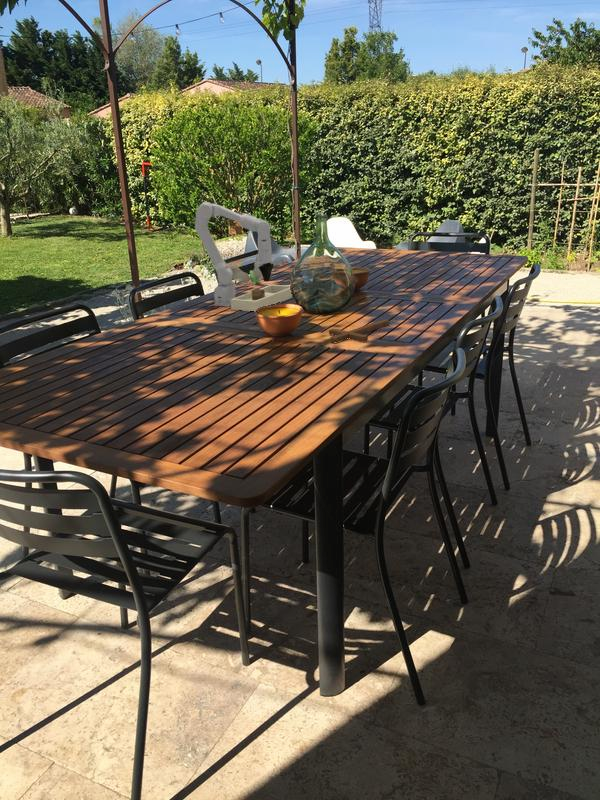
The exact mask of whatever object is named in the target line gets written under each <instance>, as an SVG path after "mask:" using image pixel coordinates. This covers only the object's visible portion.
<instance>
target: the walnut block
mask: <svg viewBox="0 0 600 800" xmlns="http://www.w3.org/2000/svg"><path fill="white" fill-rule="evenodd" d="M251 292H252V300H259V299H261V298H264V297H265V291H264V290H263V289H261V288H255V289H252V290H251Z"/></svg>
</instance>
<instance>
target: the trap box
mask: <svg viewBox="0 0 600 800" xmlns="http://www.w3.org/2000/svg"><path fill="white" fill-rule="evenodd" d="M290 286H291V285H278V284H269V285H267V286H264V287H260V289H263V290H264V291H265V297H264V298H261V299H259V300H252V291H250V292H247V293H244V294H242V295H241V294H240V295H239V296H237V297H236V296H235V297H236V298H233V299H231V306H230V308H231V310H232V311H239V310H242V312H250V311H254V312H253V313H257V312H256V310H257V309H258V308H260V307H263V306H268V305H271V304H275V305H277V304H276V303H278V302H280V303H283V302H284V301H287V300H290V299H292V298H293V297H292V294H291V290H290ZM282 301H283V302H282ZM278 304H279V303H278Z"/></svg>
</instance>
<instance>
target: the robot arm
mask: <svg viewBox="0 0 600 800" xmlns="http://www.w3.org/2000/svg"><path fill="white" fill-rule="evenodd" d="M212 216H213V217H220V216H222V217H224V218H227V219H229V220H233V221H235V222H238V223H239V226H240V227H242V228H244V229H246V230H250V231H251V232H254V233H255V232H256V233H257V250H258V251H257V253H258V256H259V258H258V261H257V262H254V268H255V267H258V268H259V269H260V271H261V273H262V276H263V278H262V279H263V281H264V282H270V280H271V276H272V275H271V274H272V270H273V268H274V264H273V263H277V257H275V256H274V257H273V256H272V255H273V254H272V239H271V234H270V233H271V225H270V224H269V222H268V221H266V220H265V219H263V220H262V218H261V217H259V218H257V217H255V216H252V214H251V213H250V212H248V213H245V212H244V213H243V214H240V213H238V212H236V211H233V210H232V209H229V208H227V207H224V206H222V205H219V204H216V203H212V202H210V201H204V202H202V203H201V204H199V206H198V208H197V210H196V212H195V220H194V222H195V223H194V228H195V231H196V232H197V235H198V237H199V239H200V240H201V243H202V245H203V246H204V249H205V251H206V252H207V254H208V256H209V258H210V260H211V262H212V264H213V266H214V269H215V272H216V275H217V281H218V282H217V286H216V287H215V288H214V289H213V296H214V297H213V298H214V304H213V306H216V307H228V308H229V307H231V299H233V298H236V288H235V287H236V286H235V281H234V280H233V279H232V277H233V273H234V272H232V270H231V269H232V268H230V267H229V266H228V265H227V264H228V263H226V261H225V259H223V256H222V254H221V252H220V250H219V248H218V246H217V245H216V243H215V240H214V239H213V236H212V235H211V232H210V230H209V229H208V225H209V222H210V219H211V218H212Z"/></svg>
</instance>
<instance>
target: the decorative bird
mask: <svg viewBox="0 0 600 800" xmlns="http://www.w3.org/2000/svg"><path fill="white" fill-rule="evenodd" d="M258 260H259V254H258V252H257V254H256V257H255V262H257V261H258ZM255 262H254V263H255ZM228 265H229V266H228V267H229V268H230V269H231V270H232V272H233V277H232V281H233V282H237V283H239V285H241V284H242V285H246V284H248V283H249V281H250V282H252V285H253V284H254V286H255V285H256V284H258V283H261V282H262V279H263V276H262V273H261V271H260V269H259V268H258V267H255V266H254V268H253V270H249V274H248V273H247V272H244V271H243V270H241V268H240V267H239V266H238V265H237V264H236V263H234V262H233V261H230V263H228ZM245 283H246V284H245Z"/></svg>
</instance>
